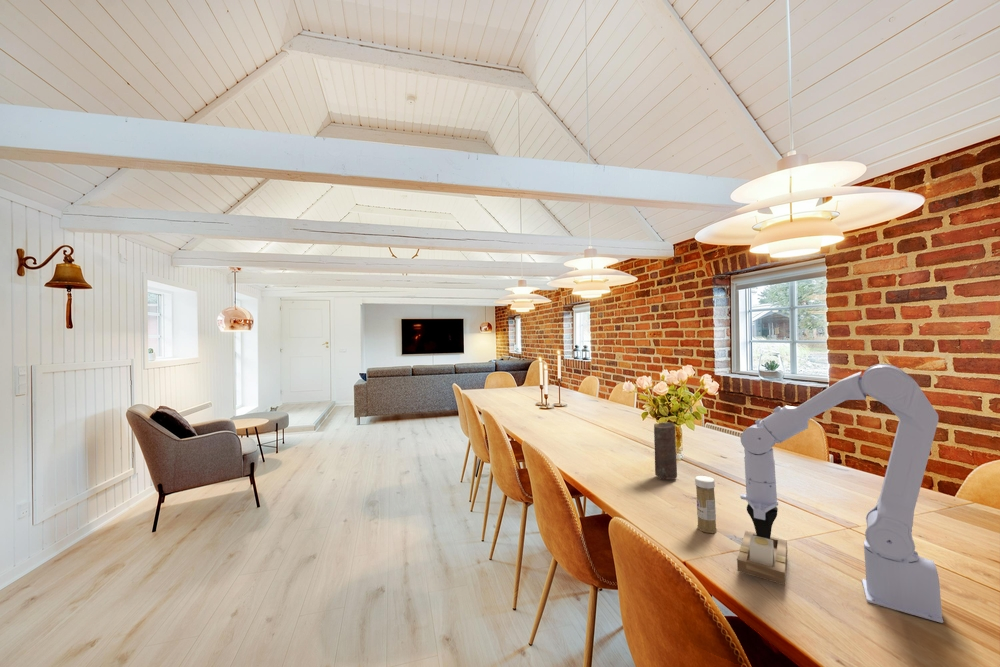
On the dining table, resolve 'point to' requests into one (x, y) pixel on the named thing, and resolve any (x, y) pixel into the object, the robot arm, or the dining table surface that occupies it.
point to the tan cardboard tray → (761, 570)
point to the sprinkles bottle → (706, 504)
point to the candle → (665, 450)
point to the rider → (761, 550)
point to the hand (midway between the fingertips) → (763, 539)
